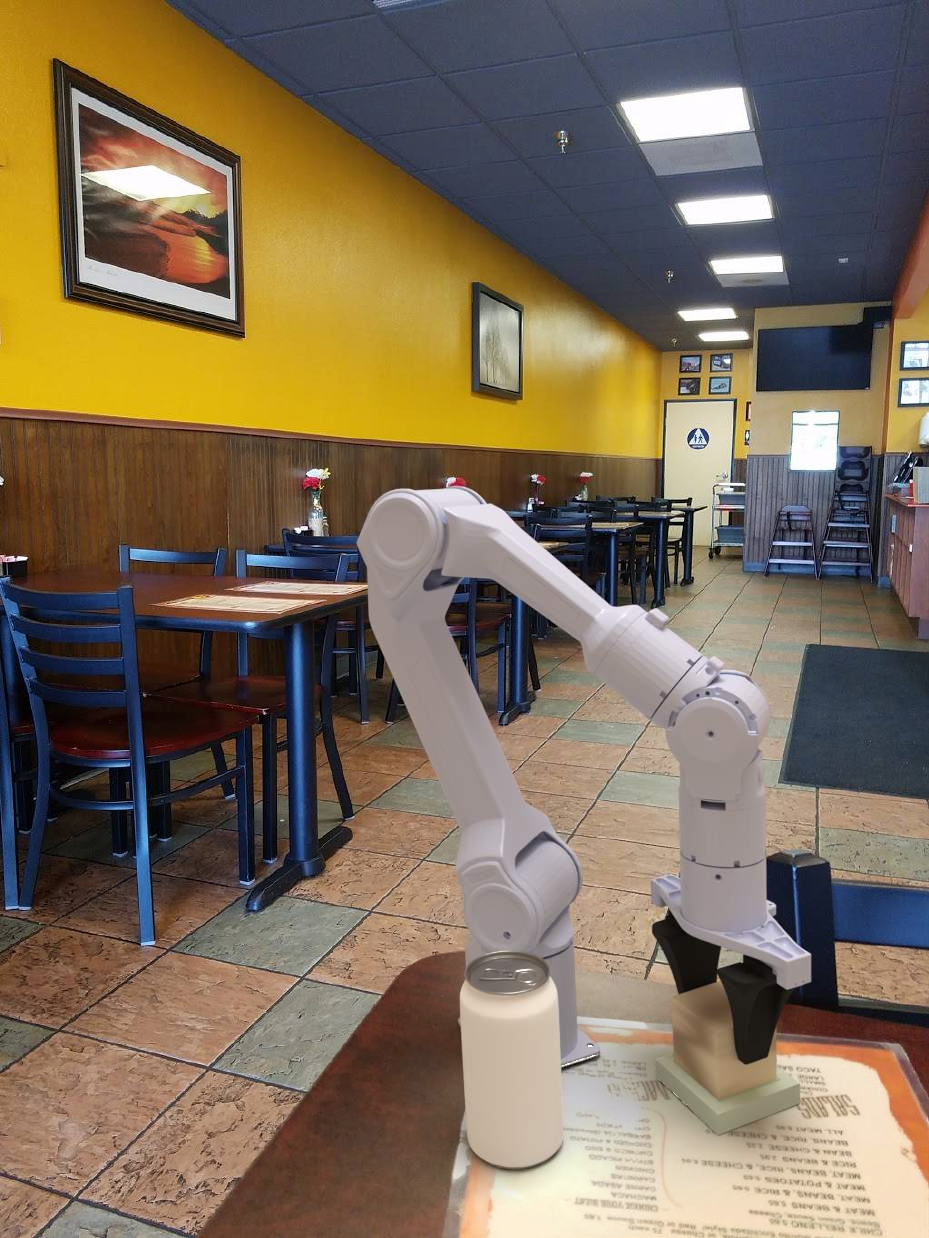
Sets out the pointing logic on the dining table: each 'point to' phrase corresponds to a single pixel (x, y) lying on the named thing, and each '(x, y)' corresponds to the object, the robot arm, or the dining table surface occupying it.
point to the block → (714, 1044)
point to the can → (511, 1059)
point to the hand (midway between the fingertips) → (725, 1036)
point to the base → (734, 1107)
